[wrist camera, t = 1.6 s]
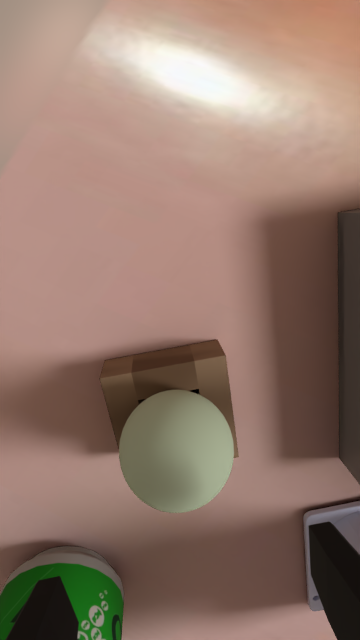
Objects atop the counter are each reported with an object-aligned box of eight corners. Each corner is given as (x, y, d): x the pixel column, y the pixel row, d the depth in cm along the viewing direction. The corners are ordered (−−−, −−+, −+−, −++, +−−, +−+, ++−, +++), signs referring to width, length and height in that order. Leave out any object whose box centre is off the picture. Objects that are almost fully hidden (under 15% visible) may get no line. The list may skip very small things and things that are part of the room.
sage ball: (226, 444, 18) (253, 529, 13) (134, 462, 18) (129, 554, 13) (214, 362, 16) (240, 424, 12) (113, 380, 16) (98, 451, 11)
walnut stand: (230, 433, 20) (238, 457, 18) (129, 452, 19) (126, 478, 17) (217, 339, 18) (225, 355, 16) (104, 360, 17) (99, 378, 15)
